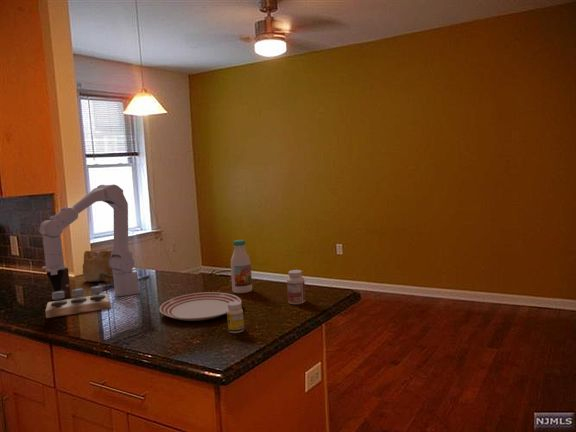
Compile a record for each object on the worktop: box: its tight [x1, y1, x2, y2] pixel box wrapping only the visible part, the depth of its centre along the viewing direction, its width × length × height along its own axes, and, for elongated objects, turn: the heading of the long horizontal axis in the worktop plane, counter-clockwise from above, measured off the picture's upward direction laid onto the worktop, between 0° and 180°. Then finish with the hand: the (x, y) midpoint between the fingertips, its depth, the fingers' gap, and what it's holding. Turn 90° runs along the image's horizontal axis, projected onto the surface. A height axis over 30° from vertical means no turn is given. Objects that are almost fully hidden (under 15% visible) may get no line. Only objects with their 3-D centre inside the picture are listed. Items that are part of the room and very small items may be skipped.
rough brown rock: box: [82, 249, 114, 285], centre depth 213 cm, size 23×17×15 cm
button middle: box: [71, 287, 85, 298], centre depth 173 cm, size 4×4×2 cm
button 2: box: [90, 285, 104, 295], centre depth 175 cm, size 4×4×2 cm
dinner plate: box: [159, 291, 242, 322], centre depth 161 cm, size 28×27×3 cm
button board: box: [44, 293, 112, 319], centre depth 172 cm, size 21×12×3 cm, turn 113°
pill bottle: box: [286, 269, 306, 305], centre depth 165 cm, size 6×6×11 cm
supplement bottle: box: [226, 301, 245, 334], centre depth 140 cm, size 5×5×8 cm
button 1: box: [51, 291, 65, 301], centre depth 170 cm, size 4×4×2 cm
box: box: [51, 266, 72, 300], centre depth 188 cm, size 6×4×12 cm
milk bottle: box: [230, 239, 253, 294], centre depth 183 cm, size 8×8×20 cm
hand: (57, 290), depth 170 cm, fingers closed
